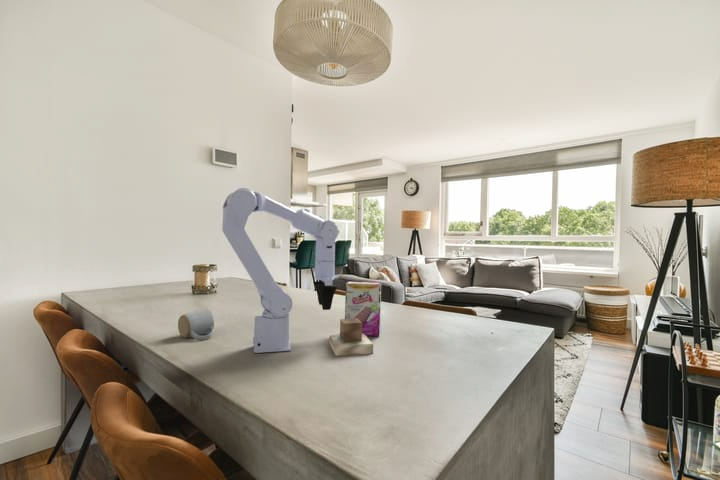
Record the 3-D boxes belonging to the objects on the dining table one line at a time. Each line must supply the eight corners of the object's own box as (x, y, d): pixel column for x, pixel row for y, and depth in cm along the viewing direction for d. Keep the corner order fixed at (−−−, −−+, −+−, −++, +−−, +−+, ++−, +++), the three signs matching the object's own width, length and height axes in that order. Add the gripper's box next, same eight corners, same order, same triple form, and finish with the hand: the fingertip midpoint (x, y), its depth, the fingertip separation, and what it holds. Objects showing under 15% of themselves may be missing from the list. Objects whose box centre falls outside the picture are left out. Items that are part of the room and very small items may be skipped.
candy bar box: (344, 335, 105) (344, 283, 105) (346, 331, 110) (347, 281, 110) (380, 337, 104) (380, 284, 104) (380, 332, 109) (381, 282, 109)
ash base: (335, 355, 87) (336, 345, 87) (329, 344, 97) (329, 335, 97) (373, 353, 89) (373, 343, 89) (363, 342, 99) (363, 333, 99)
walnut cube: (343, 342, 90) (343, 323, 90) (340, 337, 95) (340, 319, 95) (361, 341, 91) (362, 322, 91) (357, 336, 96) (357, 318, 96)
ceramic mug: (175, 336, 102) (176, 311, 102) (202, 330, 109) (202, 307, 109) (193, 343, 96) (194, 316, 96) (220, 337, 102) (220, 312, 102)
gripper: (343, 262, 94) (342, 311, 94) (334, 259, 108) (333, 302, 108) (318, 262, 92) (317, 312, 92) (312, 259, 106) (311, 302, 106)
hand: (324, 307), depth 100 cm, fingers open, 7 cm apart
